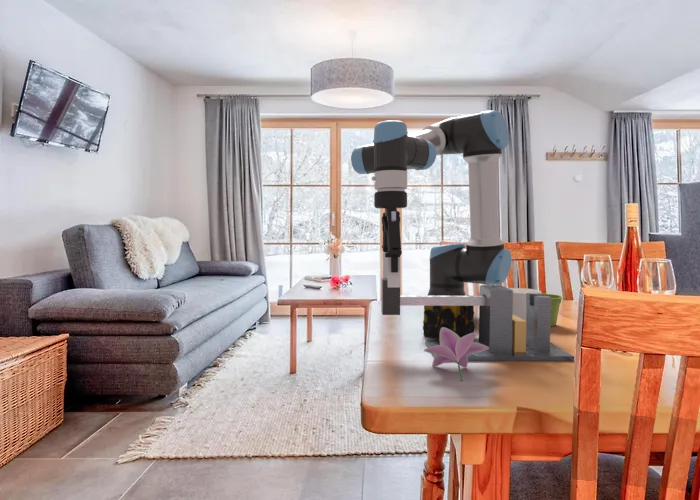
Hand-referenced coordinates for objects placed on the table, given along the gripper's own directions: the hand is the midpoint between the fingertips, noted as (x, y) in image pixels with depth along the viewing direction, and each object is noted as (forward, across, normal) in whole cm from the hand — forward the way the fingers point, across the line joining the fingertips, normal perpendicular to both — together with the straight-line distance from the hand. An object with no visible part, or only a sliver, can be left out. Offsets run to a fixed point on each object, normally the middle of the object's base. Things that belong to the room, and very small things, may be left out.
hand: (391, 282), depth 98 cm
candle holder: (+17, -16, +36) cm, 43 cm away
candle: (+17, -14, +16) cm, 27 cm away
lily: (+16, +15, +11) cm, 25 cm away
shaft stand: (+16, 0, +24) cm, 29 cm away
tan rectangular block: (+15, 0, +28) cm, 32 cm away
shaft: (+7, 0, +11) cm, 13 cm away
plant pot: (+17, -28, +48) cm, 58 cm away
